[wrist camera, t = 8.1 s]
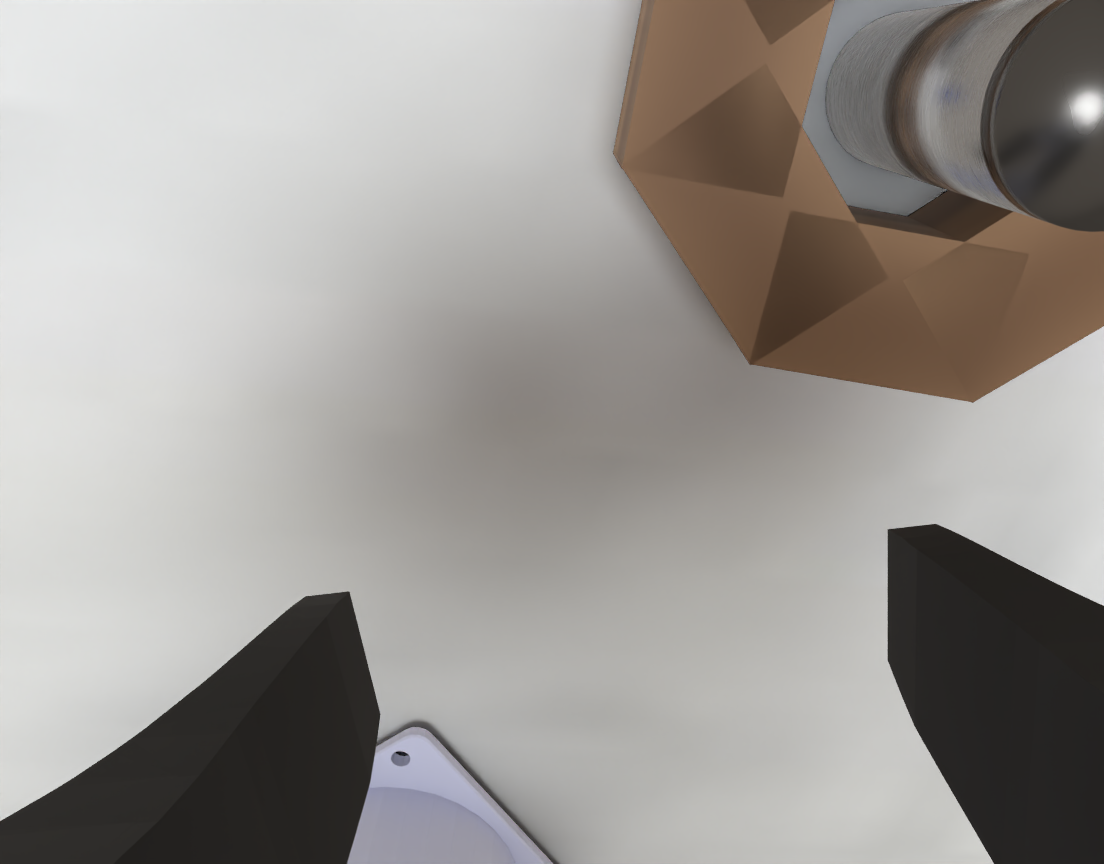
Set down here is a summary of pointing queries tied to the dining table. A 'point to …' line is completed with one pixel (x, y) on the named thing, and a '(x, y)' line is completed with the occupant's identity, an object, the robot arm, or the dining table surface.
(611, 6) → the dining table surface
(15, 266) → the dining table surface
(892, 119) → the metal cylinder
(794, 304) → the walnut bead
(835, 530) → the dining table surface
